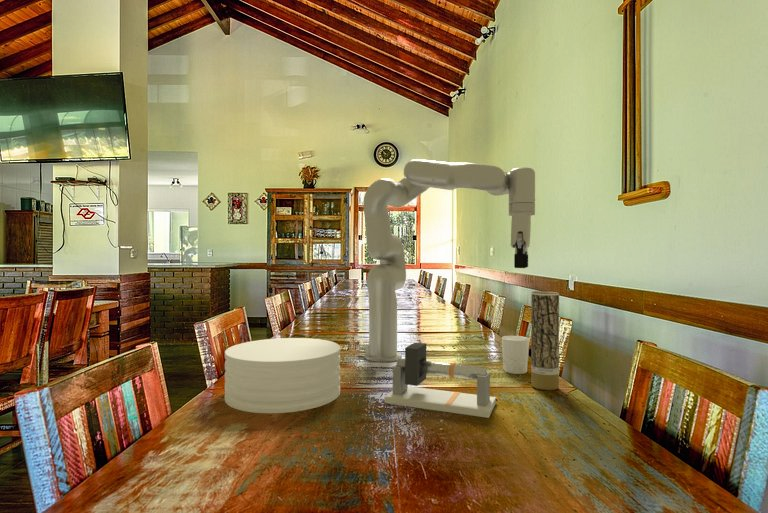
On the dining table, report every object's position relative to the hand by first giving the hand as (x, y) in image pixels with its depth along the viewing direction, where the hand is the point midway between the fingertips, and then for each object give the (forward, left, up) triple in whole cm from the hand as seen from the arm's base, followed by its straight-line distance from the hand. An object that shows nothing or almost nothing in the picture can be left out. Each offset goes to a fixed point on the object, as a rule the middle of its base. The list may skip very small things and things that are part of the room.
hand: (521, 267), depth 131 cm
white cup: (-2, 0, -31) cm, 31 cm away
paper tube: (+7, -14, -31) cm, 35 cm away
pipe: (-15, -37, -25) cm, 47 cm away
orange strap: (-12, -37, -30) cm, 49 cm away
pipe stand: (-15, -37, -31) cm, 50 cm away
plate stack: (-53, -45, -32) cm, 76 cm away
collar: (-21, -37, -27) cm, 50 cm away
